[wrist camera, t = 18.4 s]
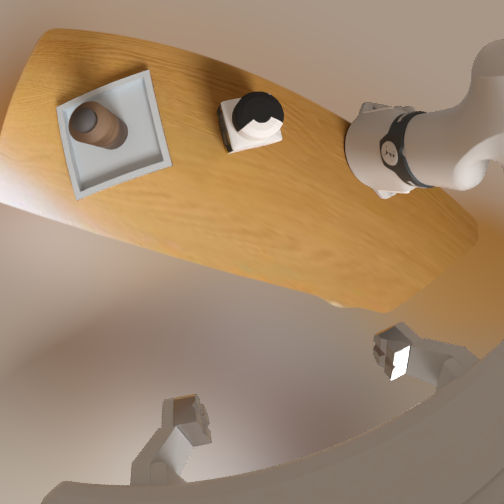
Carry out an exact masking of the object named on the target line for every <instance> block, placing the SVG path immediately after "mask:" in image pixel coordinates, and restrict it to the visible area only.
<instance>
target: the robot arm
mask: <svg viewBox="0 0 504 504" xmlns="http://www.w3.org/2000/svg"><path fill="white" fill-rule="evenodd" d="M372 108H373V109H374V110H373V109H372ZM345 152H346V157H347V161H348V164H349V166H350V168H351V170H352V172H353V173H354V175H355V176H356V177H357V178H358V179H359V180H360V181H361V182H362V183H363V184H365V185H367V186H369V187H371V188H372V189H374V191H375V192H376V193H377V195H378V196H379V197H380V198H382V199H387V198H389V197H391V196H393V195H395V194H396V193H409V191H411V190H413V189H414V188H416V187H419V188H432V187H435V186H437V187H443V188H450V189H456V190H462V191H464V190H468V189H471V188H472V187H475V186H476V185H477V184H479V183H480V181H481V180H482V179H483V177H484V175H485V173H486V170H487V167H488V162H489V159H492V160H495V161H497V162H499V163H500V164H501V166H502V168H503V171H504V39H502V40H497V41H493V42H491V43H489V44H488V45H486V46H485V47H483V48H482V50H481V51H480V52H479V53H478V55H477V57H476V58H475V61H474V63H473V67H472V75H471V83H470V88H469V91H468V93H467V95H466V97H465V98H464V99H463V100H462V102H461V103H460V104H458V105H457V106H455V107H453V108H449V109H445V110H441V111H435V112H430V113H426V112H422V111H415V109H414V107H409V106H406V107H403V108H402V106H395V107H391V106H386V105H381V104H376V103H371V102H366V103H363V104H362V106H361V109H360V112H359V115H358V117H357V118H356V119H355V120H354V121H353V123H352V124H351V125H350V127H349V129H348V132H347V135H346V140H345ZM373 341H374V342H375V346H374V348H373V355H374V358H375V360H376V362H377V364H378V365H379V366H382V367H384V372H385V374H386V375H387V376H388V377H389V379H390V380H393V379H395V378H397V377H399V376H401V375H403V374H405V373H406V374H408V375H410V376H413V377H415V378H417V379H420V380H422V381H425V382H427V383H430V384H432V385H435V386H437V387H436V390H435V393H434V394H433V395H431V396H430V397H428V398H427V399H425V400H424V401H422V402H420V403H419V404H417V405H416V406H414V407H412V408H411V409H409V410H407V411H405V412H404V413H402V414H400V415H398V416H396V417H394V418H392V419H391V420H389V421H387V422H385V423H383V424H381V425H379V426H377V427H375V428H373V429H371V430H369V431H367V432H365V433H363V434H360V435H358V436H356V437H354V438H351V439H349V440H347V441H344V442H342V443H340V444H337V445H335V446H332V447H330V448H327V449H325V450H322V451H319V452H316V453H314V454H311V455H308V456H305V457H302V458H299V459H296V460H293V461H290V462H286V463H283V464H279V465H276V466H272V467H268V468H265V469H261V470H257V471H252V472H248V473H243V474H239V475H234V476H228V477H223V478H217V479H212V480H204V481H196V482H188V483H187V482H186V481H185V480H184V479H182V478H181V477H180V474H181V472H182V470H183V468H184V466H185V464H186V462H187V460H188V459H189V456H190V455H191V453H192V451H193V449H194V446H199V445H204V444H209V443H212V440H211V432H210V430H209V428H208V425H209V423H210V422H209V417H208V413H207V411H206V408H205V406H204V405H203V404H201V403H200V398H199V396H198V395H197V394H192V395H187V396H181V397H176V398H170V399H165V400H164V401H163V407H162V428H159V429H158V430H157V431H156V432H155V434H154V435H153V436H152V438H151V439H150V440H149V442H148V443H147V444H146V446H145V447H144V448H143V449H142V451H141V452H140V453H139V455H138V456H137V457H136V458H135V460H134V461H133V462H132V468H131V483H130V485H101V484H88V483H79V482H71V481H63V482H61V483H60V484H58V485H57V486H56V487H55V488H54V489H52V490H51V492H49V493H48V494H47V495H46V496H45V497H44V499H43V501H42V502H41V504H504V339H503V340H502V341H501V342H500V343H499V344H498V345H497V346H496V347H495V348H493V349H492V350H491V351H490V352H489V353H488V354H486V355H485V356H484V357H483V358H482V359H480V360H479V359H478V358H477V357H476V356H475V355H474V354H472V353H471V352H470V351H469V350H468V349H467V348H466V347H463V346H458V345H453V344H449V343H444V342H440V341H435V340H431V339H426V338H424V339H421V338H420V337H419V336H418V335H417V334H416V333H415V332H414V331H412V330H411V329H410V328H409V327H408V326H407V325H406V324H405V323H404V322H400V323H397V324H395V325H393V326H391V327H389V328H387V329H385V330H383V331H381V332H379V333H377V334H375V335H374V339H373Z"/></svg>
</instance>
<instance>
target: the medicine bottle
mask: <svg viewBox="0 0 504 504" xmlns="http://www.w3.org/2000/svg"><path fill="white" fill-rule="evenodd" d="M216 114H217V118H218V122H219V126H220V130H221V134H222V138H223V142H224V146H225V150H226V153H227V154H230V153H234V152H238V151H242V150H247V149H251V148H256V147H260V146H265V145H269V144H272V143H275V142H278V141H281V140H282V135H281V131H280V128H281V126H282V124H283V120H284V113H283V109H282V106H281V104H280V103H279V101H278V100H277V99H276V98H275V97H273V96H272V95H271V94H270V93H265V92H251V93H248V94H246V95H245V96H243V97H242V98H237V99H232V100H227V101H222V102H221V104H220V106H219V108H218V110H217V112H216Z"/></svg>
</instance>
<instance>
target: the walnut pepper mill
mask: <svg viewBox="0 0 504 504" xmlns="http://www.w3.org/2000/svg"><path fill="white" fill-rule="evenodd" d="M68 128H69V132H70V135H71V136H72V138H73V139H74V140H76V141H78V142H82V143H86V144H90V145H93V146H97V147H101V148H105V149H109V150H113V149H117V148H119V147H120V146H122V145H123V144H124V142H125V141H126V139H127V136H128V128H127V125H126V124H125V123H124V122H123V121H122V120H121V119H120V118H118V117H117V116H116V115H114V114H113V113H112V112H110V111H109V110H108V109H106V108H105V107H104V106H102V105H101V104H100V103H98V102H95V101H88V102H85V103H82V104H81V105H79V106H78V107H77V108H76V109H75V110H74V111H73V113H72V114H71V117H70V119H69V125H68Z"/></svg>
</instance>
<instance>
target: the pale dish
mask: <svg viewBox="0 0 504 504" xmlns="http://www.w3.org/2000/svg"><path fill="white" fill-rule="evenodd" d="M88 101H95V102H98V103H100V104H101V105H102V106H104V107H105V108H106V109H108V110H109V111H110V112H112V113H113V114H114V115H116V116H117V117H118V118H120V119H121V120H122V121H123V122H124V123H125V124H126V125H127V128H128V136H127V139H126V141H125V142H124V144H123V145H122V146H120V147H119V148H117V149H113V150H109V149H105V148H101V147H97V146H93V145H90V144H86V143H82V142H78V141H76V140H74V139H73V138H72V136H71V135H70V132H69V128H68V125H69V119H70V117H71V114H72V113H73V111H74V110H75V109H76V108H77V107H78V106H79V105H81V104H82V103H85V102H88ZM56 108H57V115H58V121H59V127H60V133H61V138H62V143H63V148H64V153H65V158H66V162H67V166H68V170H69V175H70V178H71V182H72V186H73V190H74V193H75V197H76V200H80V199H83V198H85V197H88V196H90V195H92V194H95V193H97V192H100V191H103V190H105V189H108V188H110V187H113V186H116V185H118V184H121V183H124V182H126V181H129V180H132V179H135V178H138V177H141V176H143V175H146V174H149V173H152V172H155V171H158V170H161V169H165V168H168V167H171V166H173V164H172V160H171V156H170V152H169V149H168V145H167V141H166V137H165V133H164V129H163V125H162V121H161V117H160V113H159V108H158V104H157V100H156V95H155V91H154V86H153V82H152V77H151V74H150V71H149V70H146V71H143V72H140V73H137V74H134V75H131V76H128V77H125V78H123V79H120V80H117V81H115V82H112V83H109V84H107V85H104V86H102V87H99V88H97V89H95V90H92V91H90V92H88V93H85V94H83V95H81V96H79V97H77V98H75V99H72V100H70V101H68V102H66V103H64V104H62V105H60V106H58V107H56Z"/></svg>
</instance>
